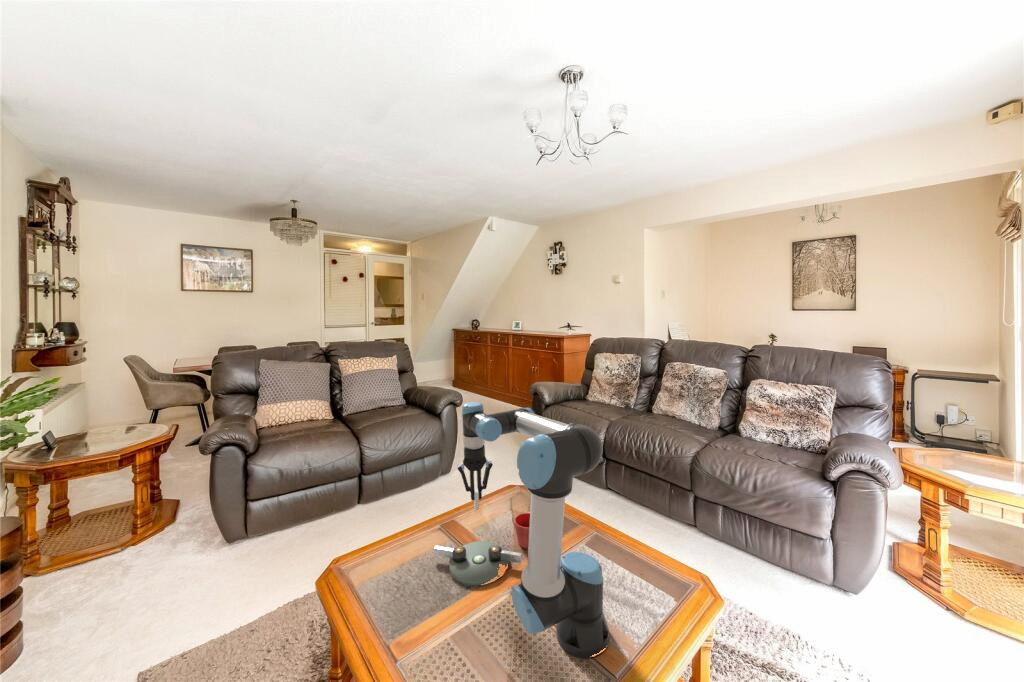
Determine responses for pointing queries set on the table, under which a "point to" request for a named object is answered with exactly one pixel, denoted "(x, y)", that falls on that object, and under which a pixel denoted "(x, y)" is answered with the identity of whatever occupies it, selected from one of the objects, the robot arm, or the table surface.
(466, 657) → the table surface
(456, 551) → the knob left
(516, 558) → the knob right
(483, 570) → the plate
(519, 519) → the flower pot
